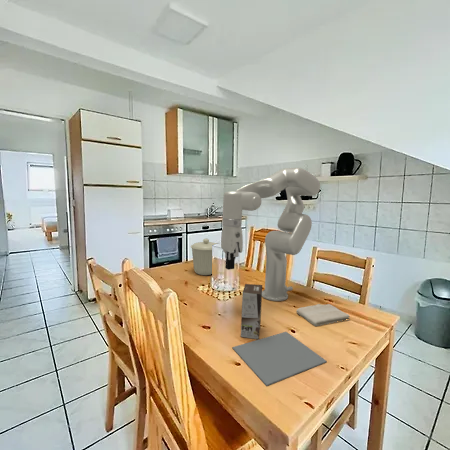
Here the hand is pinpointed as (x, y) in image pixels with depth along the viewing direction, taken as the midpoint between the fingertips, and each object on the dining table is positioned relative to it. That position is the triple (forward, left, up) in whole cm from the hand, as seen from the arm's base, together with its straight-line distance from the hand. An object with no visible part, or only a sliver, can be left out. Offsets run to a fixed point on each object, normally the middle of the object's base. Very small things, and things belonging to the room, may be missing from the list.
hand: (229, 268), depth 105 cm
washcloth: (-34, +19, -20) cm, 43 cm away
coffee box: (-1, +16, -19) cm, 25 cm away
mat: (-1, +31, -19) cm, 36 cm away
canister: (-12, -52, -19) cm, 57 cm away
